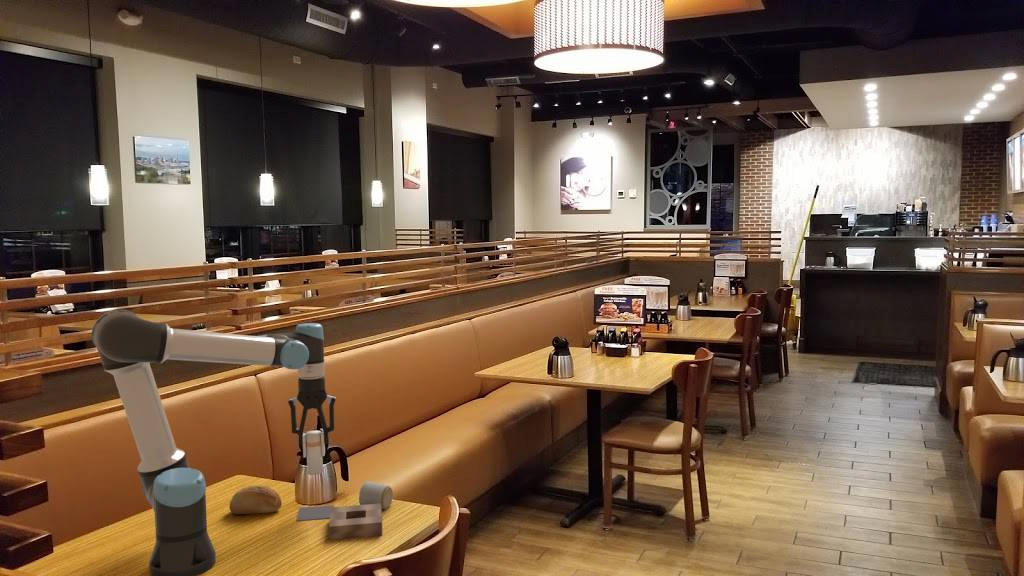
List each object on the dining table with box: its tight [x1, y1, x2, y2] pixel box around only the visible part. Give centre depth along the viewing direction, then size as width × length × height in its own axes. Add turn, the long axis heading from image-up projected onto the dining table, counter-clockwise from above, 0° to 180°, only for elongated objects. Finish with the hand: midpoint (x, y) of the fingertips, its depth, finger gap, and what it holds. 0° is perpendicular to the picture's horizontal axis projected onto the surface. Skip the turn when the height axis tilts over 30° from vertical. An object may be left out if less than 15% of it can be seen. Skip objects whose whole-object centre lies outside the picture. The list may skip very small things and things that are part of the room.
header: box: [328, 504, 384, 541], centre depth 206 cm, size 14×14×4 cm
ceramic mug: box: [358, 481, 394, 510], centre depth 223 cm, size 11×8×8 cm
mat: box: [295, 504, 335, 522], centre depth 217 cm, size 10×10×1 cm
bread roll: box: [228, 484, 283, 515], centre depth 219 cm, size 10×15×8 cm, turn 96°
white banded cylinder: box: [304, 429, 324, 476], centre depth 216 cm, size 4×4×12 cm
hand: (314, 455), depth 216 cm, fingers closed on white banded cylinder, 4 cm apart
